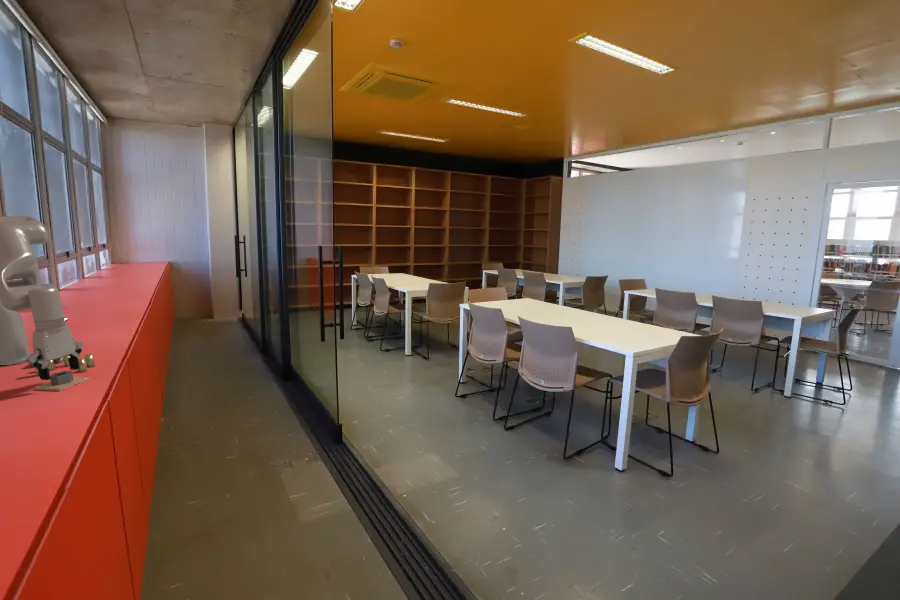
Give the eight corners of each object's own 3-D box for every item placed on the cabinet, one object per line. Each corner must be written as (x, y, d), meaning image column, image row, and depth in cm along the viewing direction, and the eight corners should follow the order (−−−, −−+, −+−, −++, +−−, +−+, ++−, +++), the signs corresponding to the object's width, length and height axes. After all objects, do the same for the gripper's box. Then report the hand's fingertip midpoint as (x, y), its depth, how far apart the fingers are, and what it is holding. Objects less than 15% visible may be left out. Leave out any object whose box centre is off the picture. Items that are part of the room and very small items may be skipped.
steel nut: (47, 384, 146) (45, 375, 146) (62, 379, 151) (61, 370, 151) (62, 385, 146) (60, 376, 145) (77, 379, 150) (75, 371, 150)
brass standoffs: (30, 375, 158) (27, 363, 157) (65, 364, 170) (62, 352, 169) (68, 377, 155) (66, 365, 154) (101, 365, 167) (99, 354, 166)
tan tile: (34, 389, 145) (34, 387, 144) (65, 378, 154) (65, 376, 154) (60, 391, 143) (59, 388, 143) (89, 379, 153) (89, 377, 152)
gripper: (67, 317, 153) (76, 364, 157) (11, 331, 137) (23, 383, 140) (85, 318, 152) (94, 365, 156) (31, 331, 135) (42, 384, 139)
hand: (60, 374), depth 148 cm, fingers open, 9 cm apart
